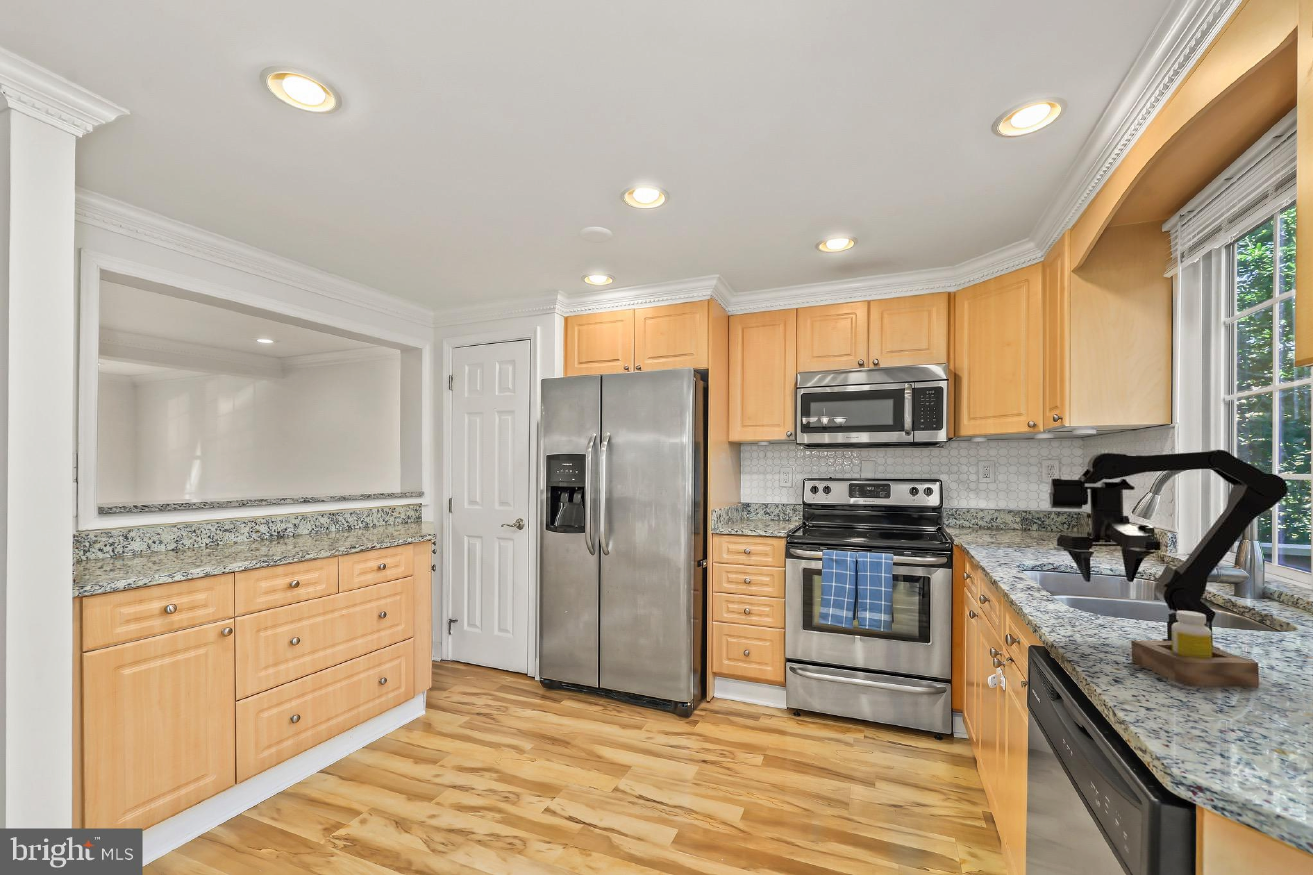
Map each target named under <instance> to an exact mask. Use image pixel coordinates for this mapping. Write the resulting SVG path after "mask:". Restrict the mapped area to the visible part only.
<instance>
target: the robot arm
mask: <svg viewBox="0 0 1313 875" xmlns="http://www.w3.org/2000/svg"><path fill="white" fill-rule="evenodd" d="M1207 469H1208V470H1209V469H1210V470H1211V471H1213V472H1214V473H1215V474H1217V475H1218V476H1219V477H1220V478H1222V479H1223V480H1224V481H1226V482H1227V483H1228V484H1230V485H1232V488H1231V490H1230V492H1229V493H1228V494H1229V495H1228V500H1227V505H1226V507H1225V509H1224V510H1223V512H1222V513H1221V514H1220V515H1219V517H1218V518H1217V520H1215V522H1214V523H1213V524H1212V526H1211V527H1210V529H1209V530H1208V531H1207V532H1206V534H1204V536H1203V537H1202V539H1200V541H1199V542H1198V544H1197V545H1196V546H1195V548H1193V550H1192V551H1191V553H1190V554H1189V555H1188V556H1187V558H1186V559H1185V560H1184V562H1183V563H1182V564H1180V565H1179V566H1177V567H1174V568H1173V567H1172V566H1170V565H1166V566H1165V567H1164V568H1163V570H1162V573H1161V574H1160V575H1159V576H1158V577H1156V578H1155V579H1154V581H1155V582H1156V584H1155V586H1154V592H1155V594H1156V596H1157V598H1158V599H1159V600H1160V601H1162V603H1164V604H1166V606H1167V608H1168V610H1169V611H1171V613H1168V615H1167V616H1168V621H1167V622H1166V632H1167V635H1166V636H1167V637H1166V638H1162V641H1172V625H1173V624H1174V623H1176V622H1178V620H1177V619H1176V612H1177V611H1192V612H1197V613H1202V614H1204V615H1206V623H1205V624H1204V626H1205V627H1207V628H1209V629H1210V630H1211V633H1212V634H1213V621H1214V619H1215V617H1216V614H1217V612H1215V611H1214V610H1213V609H1212V608H1210V606H1208V605H1207V604H1206V603H1204V602H1203V601H1202V599H1203V596H1204V595H1205V592H1206V590H1207V585H1208V580H1209V577H1210V575H1211V574H1212V573H1213V572H1214V571H1215V569H1216V567H1217V566H1218V565H1219V564H1220V562H1222V560H1223V559H1224V558H1225V556H1226V555H1227V553H1228V552H1229V551H1230V550H1231V549H1232V547H1233V546H1234V545H1235V544H1236V542H1238V540H1239V538H1240V537H1241V536H1242V535H1243V533H1244V532H1245V531H1246V530H1247V528H1248V527H1249V526H1250V525H1251V523H1252V522H1253V521H1254V520H1255V519H1256V518H1257V517H1259V516H1261V515H1262V514H1264V513H1266V512H1267V511H1269V510H1271V509H1272V508H1273V507H1274V506H1276V504H1278V503H1279V502H1281V501H1282V499H1284V498H1285V497H1286V495H1287V494H1288V491H1289V487H1288V485H1287V483H1286V481H1285V479H1284V478H1283V477H1281V476H1279V475H1278V474H1274V473H1270V472H1268V473H1267V472H1264V471H1262V470H1261V469H1260V468H1257V467H1255V466H1253V465H1251V464H1250V463H1248V462H1246V461H1245V460H1244V461H1243V460H1241V459H1240V458H1238V457H1236V456H1234V455H1233V454H1231V453H1230V452H1229V451H1227V450H1225V449H1209V450H1206V451H1192V452H1191V451H1190V452H1178V453H1177V452H1176V453H1164V454H1163V453H1161V454H1146V455H1140V454H1139V455H1137V454H1126V453H1114V452H1113V453H1112V452H1104V453H1103V452H1102V453H1097V454H1094V455H1092V456H1091V457H1090V458H1089V460H1088V461H1087V469H1086V470H1084V472H1083V473H1082V474H1081V475H1080V476H1079V477H1078V478H1077V479H1063V478H1051V479H1050V481H1051V482H1050V489H1049V490H1050V491H1049V493H1048V495H1049V496H1048V497H1049V505H1050V509H1061V510H1062V509H1064V510H1065V509H1067V510H1082V509H1083V507H1084V506H1088V504H1089V501H1090V504H1089V505H1090V513H1086V519H1090V530H1091V531H1087V532H1086V535H1082V534H1077V533H1061V534H1059V535H1058V537H1057V538H1056V546H1057V547H1060V548H1062V549H1063V550H1062V551H1065V552H1067V553H1068V555H1069V556H1070V557H1071V559H1072V560H1073V562H1074V564H1075V565H1076V567H1077V569H1078V571H1079V572H1080V574H1081V577H1082V578H1083V580H1084V582H1086V583H1090V582H1091V576H1092V572H1091V571H1092V570H1091V568H1092V567H1091V557H1093V554H1095V552H1094V551H1091V549H1092V548H1093V547H1120V548H1121V554H1122V560H1123V567H1124V572H1125V577H1126V580H1127V582H1128V583H1133V582H1134V580H1135V578H1136V576H1137V573H1138V571H1139V569H1140V566H1141V565H1142V563H1143V562H1144V559H1146V558H1148V557H1149V556H1150V555H1154V554H1155V553H1156V552H1155V551H1161V550H1162V545H1161V544H1162V543H1161V541H1160V540H1159V538H1158V537H1157V536H1156V533H1155V527H1154V526H1152V525H1151V524H1140V525H1132V524H1131V523H1130V518H1129V515H1124V514H1125V513H1124V491H1133V490H1135V489H1136V487H1135V486H1133V485H1132V484H1130V483H1129V482H1128V480H1127V479H1126V477H1130V476H1134V475H1138V474H1139V475H1140V474H1143V473H1152V472H1153V473H1155V472H1156V473H1157V472H1172V471H1173V472H1174V471H1189V470H1191V471H1193V470H1195V471H1196V470H1207ZM1120 478H1121V479H1120ZM1115 479H1119V481H1104V480H1115ZM1101 481H1102V482H1101ZM1100 482H1101V484H1100V486H1095V484H1098V483H1100ZM1093 484H1094V486H1091V485H1093ZM1087 485H1090V486H1087ZM1088 490H1089V491H1088ZM1089 498H1090V500H1089ZM1213 639H1214V638H1213V635H1212V647H1214V648H1217V649H1220V650H1221V647H1218V646H1215V645H1214V644H1213V642H1214V640H1213Z"/></svg>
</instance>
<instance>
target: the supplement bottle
mask: <svg viewBox="0 0 1313 875" xmlns="http://www.w3.org/2000/svg"><path fill="white" fill-rule="evenodd" d="M1176 619H1177V620H1178V622H1176V623H1174V624H1173V625H1172V651H1173V652H1175V653H1178V654H1181V655H1183V656H1186V657H1189V658H1212V636H1213V632H1212V633H1211V630H1210V629H1209V628H1207V627H1205V626H1204V624H1205V623H1206V615H1204V614H1202V613H1197V612H1192V611H1177V612H1176Z"/></svg>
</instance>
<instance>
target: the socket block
mask: <svg viewBox="0 0 1313 875" xmlns="http://www.w3.org/2000/svg"><path fill="white" fill-rule="evenodd" d="M1130 643H1131V662H1132V663H1133V664H1136V665H1139V666H1141V667H1143V668H1144V669H1148V670H1150V671H1152V672H1154V673H1156V674H1159V675H1161V676H1164V677H1166V678H1168V679H1170V680H1173V681H1175V682H1178V683H1180V684H1182V685H1184V686H1187V687H1252V688H1253V687H1254V688H1255V687H1258V688H1259V687H1260V673H1259V662H1256V661H1254V660H1251V659H1248V658H1245V657H1242V656H1240V655H1237V654H1234V653H1231V652H1227V651H1225V650H1223V649H1221V648H1220V649H1217V648H1214V647H1212V658H1189V657H1186V656H1183V655H1181V654H1178V653H1175V652H1173V651H1172V641H1163V640H1131V642H1130Z"/></svg>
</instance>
